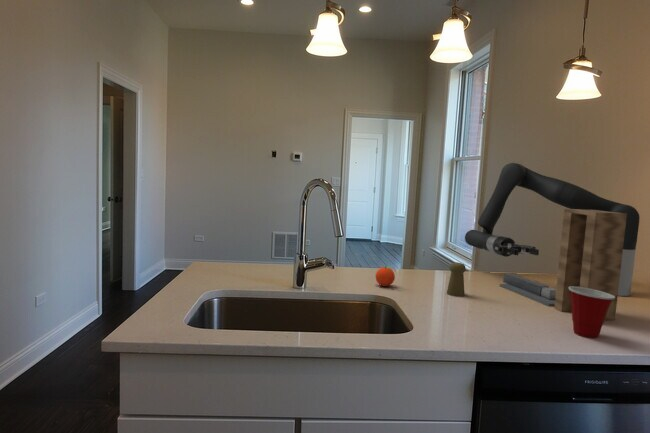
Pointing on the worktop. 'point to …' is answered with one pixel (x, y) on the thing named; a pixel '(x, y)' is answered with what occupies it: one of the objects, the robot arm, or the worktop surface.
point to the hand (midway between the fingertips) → (527, 252)
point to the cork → (456, 280)
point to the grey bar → (529, 285)
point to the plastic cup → (589, 310)
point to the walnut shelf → (590, 255)
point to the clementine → (385, 276)
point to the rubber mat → (530, 295)
